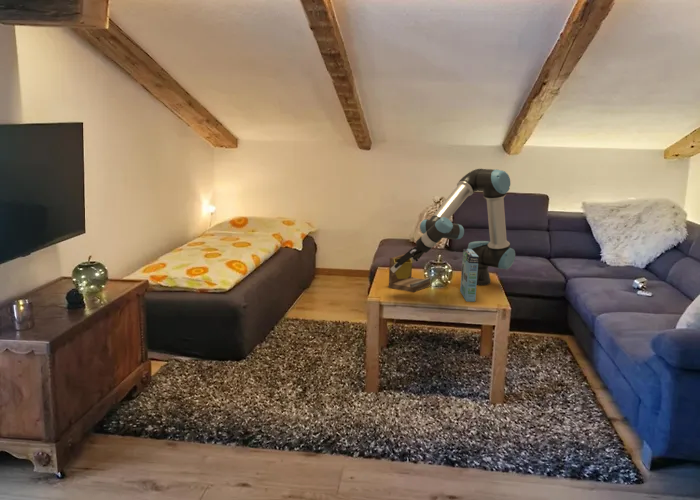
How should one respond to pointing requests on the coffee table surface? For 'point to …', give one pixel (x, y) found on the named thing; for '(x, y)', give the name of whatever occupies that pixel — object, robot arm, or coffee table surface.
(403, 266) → the flower pot
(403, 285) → the wooden shelf
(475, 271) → the blue cardboard box
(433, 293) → the coffee table surface
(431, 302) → the coffee table surface
